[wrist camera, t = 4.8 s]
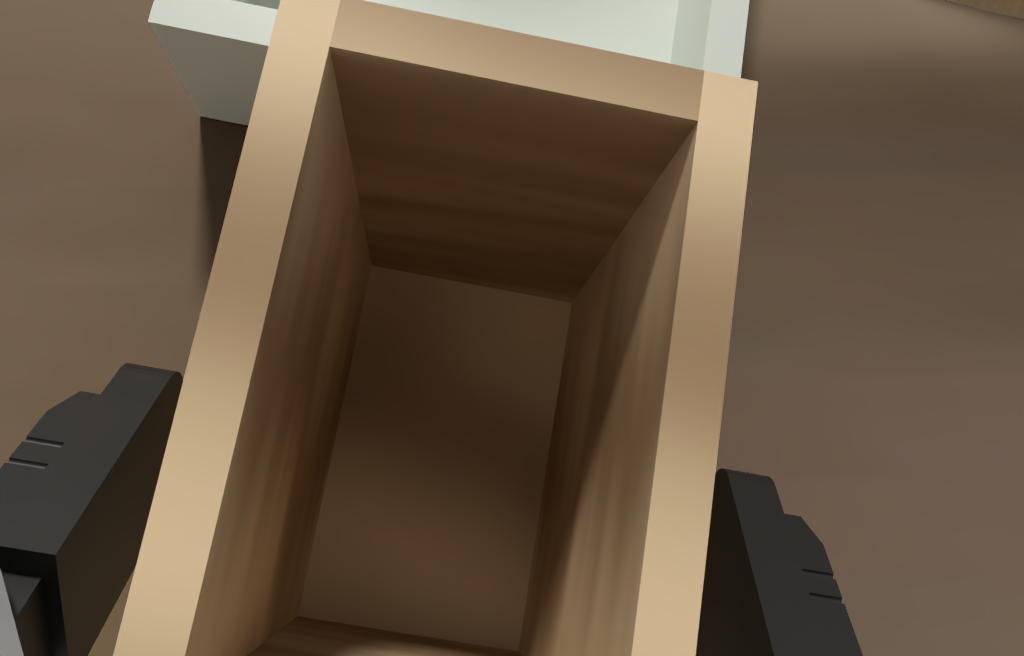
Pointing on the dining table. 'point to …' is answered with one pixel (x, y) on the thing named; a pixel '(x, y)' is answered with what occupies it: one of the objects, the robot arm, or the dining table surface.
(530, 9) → the grey crate
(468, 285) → the oak crate
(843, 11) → the dining table surface
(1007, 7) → the sandwich container
